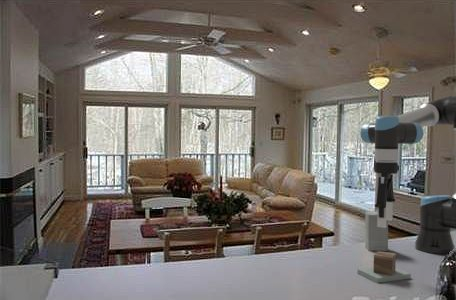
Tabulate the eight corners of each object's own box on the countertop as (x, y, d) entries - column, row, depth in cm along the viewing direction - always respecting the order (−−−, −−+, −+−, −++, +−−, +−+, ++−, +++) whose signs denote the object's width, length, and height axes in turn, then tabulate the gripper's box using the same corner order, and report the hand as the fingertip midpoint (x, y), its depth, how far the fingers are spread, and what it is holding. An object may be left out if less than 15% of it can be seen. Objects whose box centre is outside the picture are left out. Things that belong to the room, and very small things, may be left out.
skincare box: (384, 247, 181) (384, 211, 181) (388, 252, 174) (389, 214, 174) (363, 246, 182) (364, 210, 182) (367, 251, 175) (368, 213, 175)
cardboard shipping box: (377, 267, 148) (377, 251, 147) (395, 270, 144) (395, 253, 144) (373, 272, 142) (373, 254, 142) (392, 275, 139) (392, 257, 139)
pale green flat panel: (389, 269, 151) (390, 254, 151) (410, 278, 142) (411, 262, 141) (357, 273, 146) (357, 257, 146) (377, 282, 137) (377, 266, 137)
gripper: (381, 159, 155) (380, 216, 156) (367, 163, 134) (366, 229, 134) (402, 160, 152) (401, 218, 152) (392, 163, 130) (391, 232, 131)
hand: (385, 223), depth 143 cm, fingers open, 13 cm apart
